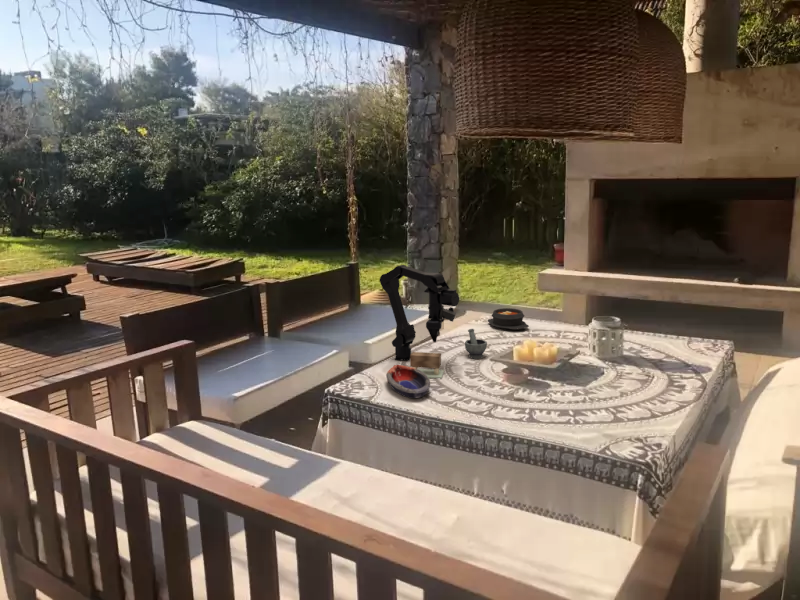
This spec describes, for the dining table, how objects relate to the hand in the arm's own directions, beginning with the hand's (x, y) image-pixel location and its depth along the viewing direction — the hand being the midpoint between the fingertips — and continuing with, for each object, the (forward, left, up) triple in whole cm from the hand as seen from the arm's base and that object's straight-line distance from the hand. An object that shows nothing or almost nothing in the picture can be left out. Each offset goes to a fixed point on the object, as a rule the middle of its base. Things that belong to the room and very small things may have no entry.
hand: (435, 339), depth 276 cm
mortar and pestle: (+16, +15, -12) cm, 25 cm away
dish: (-8, -28, -12) cm, 31 cm away
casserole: (+30, +68, -12) cm, 76 cm away
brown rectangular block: (-3, -12, -8) cm, 15 cm away
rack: (-3, -12, -12) cm, 17 cm away
